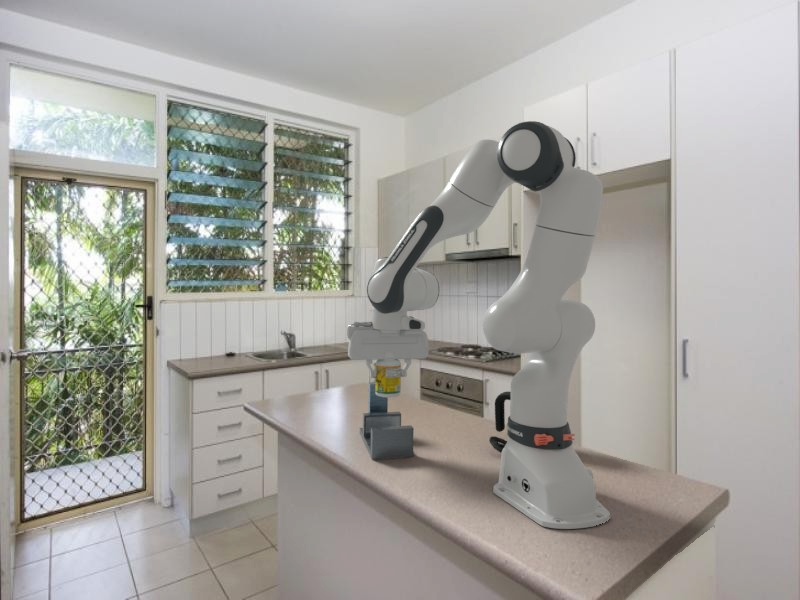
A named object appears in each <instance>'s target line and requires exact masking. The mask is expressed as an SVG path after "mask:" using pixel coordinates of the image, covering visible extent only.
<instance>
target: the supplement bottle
mask: <svg viewBox="0 0 800 600" xmlns="http://www.w3.org/2000/svg"><path fill="white" fill-rule="evenodd" d="M385 358H386V359H382V360H376V362H375V370H376V371H377V374H376V375H377V377H376V378H375V382H376V387H375V393H376V395H377V396H380V397H388V398H397V397H399V396H400V395H401V389H402V388H401V381H402V380H401V378H402V377H401V369H402V364H401V363H402V362H401V361H400V359H394V358H395V351H385Z"/></svg>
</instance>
